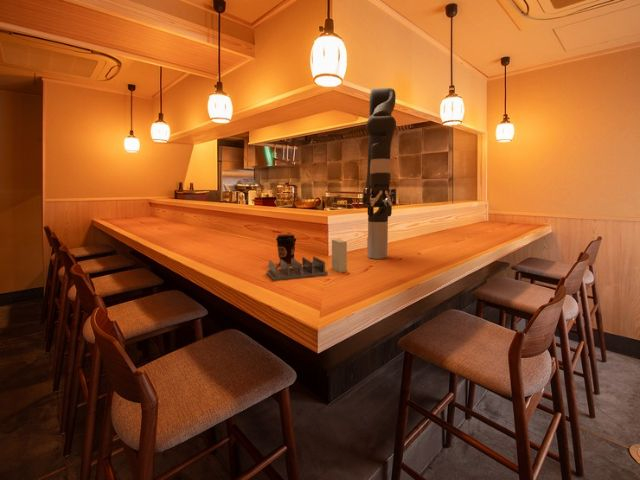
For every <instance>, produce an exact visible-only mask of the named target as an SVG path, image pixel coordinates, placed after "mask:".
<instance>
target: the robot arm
mask: <svg viewBox="0 0 640 480" xmlns="http://www.w3.org/2000/svg"><path fill="white" fill-rule="evenodd" d="M396 95H397V94H396V91H395V89H394V88H389V87H381V88H377V87H376V88H372V89H371V90H370V93H369V103H368V105H369V106H368V107H369V111H368V112H369V117H368V119H367V122H366V124H365V130H366V134H367V135H368V143H367V167H366V169H367V170H366V172H367V173H366V178H365V179H366V180H365V188H363V190H362V191H363V194H362V205H363V206H367V245H366V246H367V252H366V256H367V258H369V259H374V260H377V259H378V260H380V259H381V260H382V259H383V260H384V259H387V258H388V249H389V248H388V247H389V246H388V238H389V237H388V236H389V234H388V232H389V231H388V229H389V217H391V216H392V212H393V211H392V210H393V209H392V208H393V206H395V205H396V204H397V189H396V188H390V186H391V179H392V178H391V177H392V176H391V175H392V174H391V173H392V165H391V164H392V163H391V150H392V149H391V148H392V143H393V137H394V135H395V131H396V127H397V121H396V119H395V117H394V116H393V115H392V113H393V112H394V109H395V106H396V100H397V98H396ZM376 207H378V209H377V210H376V211H374V209H375V208H376Z"/></svg>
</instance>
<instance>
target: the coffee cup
mask: <svg viewBox="0 0 640 480" xmlns="http://www.w3.org/2000/svg"><path fill="white" fill-rule="evenodd" d="M275 240H276V243H277V244H276V246H277V255H278V259H279V260H280V259H282V260H284V261H285V262H286V263H288V264H289V265H290V266H292V261H291V258H293V259H295V251H296V250H295V249H296V247H295V246H296V241H297V238H296V237H295V235H294V234H277V237H276V239H275ZM278 263H279V265H280V262H278Z"/></svg>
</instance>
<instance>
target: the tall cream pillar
mask: <svg viewBox="0 0 640 480" xmlns="http://www.w3.org/2000/svg"><path fill="white" fill-rule="evenodd" d="M347 243H348V242H347V241H346V240H342V239H339V238H334V239H331V269H333V270H334V271H337V272H339V273H347V272H348V265H347V264H348V260H347V259H348V252H347V251H348V248H347V247H348V245H347Z"/></svg>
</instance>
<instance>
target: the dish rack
mask: <svg viewBox="0 0 640 480" xmlns="http://www.w3.org/2000/svg"><path fill="white" fill-rule="evenodd" d="M301 259H302V260H301V261H302V263H301V262H300V261H298V260H296V259H295V258H294V259H293V258H291V261H292V265H289V264H288V263H286V262H285V261H284V260H282V259H279V263H280V264H279V265H280V267H279V268H278V265H277V264H276V263H275V262H273V261H272V260H271V259H268V269H267V270H266V274H267V275H268V277H270V279H271V280H272V279H273V280H272V281H275V280H276V281H282V280H293V279H301V278H302V279H303V278H311V277H321V276H329V275H328V271H327V270H326V261H325V260H323V259H320V258H319V257H316V256H315V255H313V256H312V260H310V259H308V258H306V257H304V256H302V258H301Z"/></svg>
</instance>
